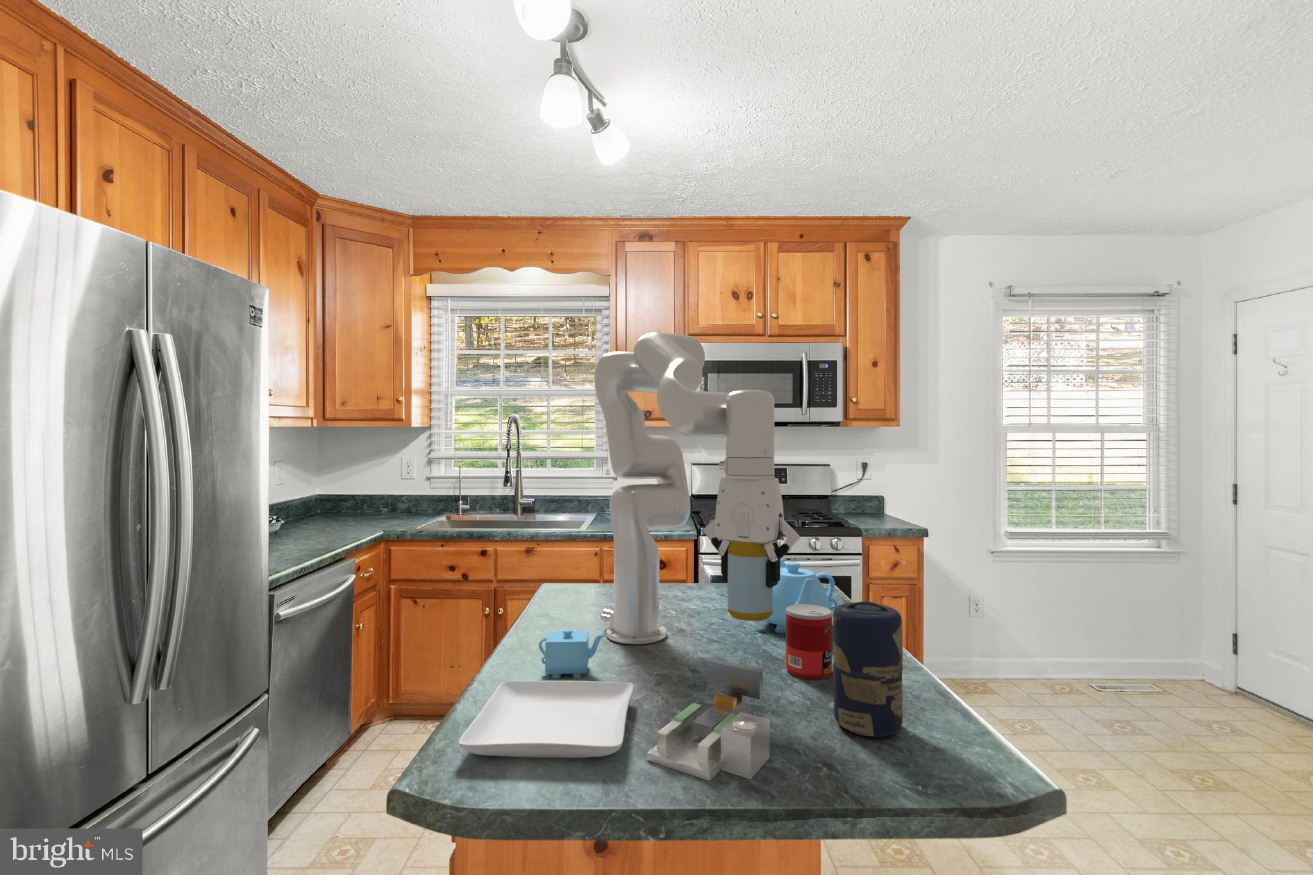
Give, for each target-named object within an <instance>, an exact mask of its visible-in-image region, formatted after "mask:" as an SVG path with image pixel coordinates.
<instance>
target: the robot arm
mask: <svg viewBox="0 0 1313 875" xmlns="http://www.w3.org/2000/svg"><path fill="white" fill-rule="evenodd" d="M632 350H633V351H611V352H608V353H605V354H603V355H602V356H601V357H600V358H598V361H597V363H596V365H595V370H594V379H593V380H594V389H595V395H596V397H597V401H598V403H599V405H600V408H601V411H602V414H603V417H604V423H605V429H606V436H607V444H608V450H609V460H610V464H611V468H612V472H613V474H614V475H615V477H617V478H619V479H623V480H653V479H654V480H656V481H657V483H641V484H639V483H638V484H628V485H624V486H620V487H618V488H617V489H616V490H614V491H613V493H612V494H611V496H610V499H609V504H608V505H609V515H610V521H611V526H612V535H613V609H608V608H604V609H603V611H602V614H601V615H600V618H599V619H600V621H603V622H608V623H609V626H608V627H607V628H606V633H605V634H607V635H606V637H607V638H608V639H609V640H611V641H613V642H615V643H619V644H626V645H646V644H652V643H653V644H654V643H657V642H659V641H662V640H664V639H665V638H666V637H667V628H666V627H665V626H664V625H663V624H660V549H659V547H658V545H657V543H656V541H655V539H654V538H653V536H652V535H651V533H650V530H655V529H666V528H667V529H669V528H679V527H680V526H683V525H685V524H686V523H687V521H688V519H689V517H690V514H691V498H690V491H689V485H688V478H687V473H686V472H687V471H686V466H685V461H684V455H683V452H682V448H681V447H680V445H679V443H678V441H676V440H675V439H674V438H673V437H671V436H668V435H667V436H666V435H655V434H654V435H652V434H651V435H650V434H649V433H648V431H647V428H646V422H645V420H646V419H645V416H644V413H643V411H642V409H641V407H640V405H638V403H637V402H636V401H635V399H634V398H632V397H631V396H630V395H629V393H630V392H633V393H651V394H656V399H657V400H656V401H657V406H658V410H659V412H660V414H661V416H662V418H663V419H664V420H665V421H666V422H667V423H668V424H669V426H671V427H672V428H673V429H674V430H675V431H677V432H678V433H679V434H680V435H682V436H683V435H684V436H686V437H691V438H725V450H726V451H725V458H724V460H721V461H719V463H718V468H719V470H723V471H724V474H725V476H724V477H720V481H719V484H718V491H717V498H716V505H715V506H716V507H715V517H714V519H713V520H712V521H711V522H710V523H709V524H708V525H707V526H705V528H703V532H704V534H705V535H706V537H707V538H708V540H709V541H710V543H711V545H712V546H713V547H714V548H715V550H716V551H717V554H718V555H719V556H720V573H721V575H722V582H725V583H726V582H727V583H728V547H729V544H730V542H731V541H732V542H733V541H735V537H738V536H737V535H736V534H735V524H734V523H735V522H736V521H742V522H750V524H752V525H750V537H748V538H751V542H752V543H755V544H764V547H765V549H766V552H767V554H768V556H769V561H767V562H766V586H767V587H768V588H772V587H774V586H776V585H777V584H778V582H779V581H780V559H782V558H784V557H785V556H786V555H787V554H788V553H789V552H791V549H793V547H794V546H796V544H797V543H798V542H799V541H800V540H801V536H800V535H799V534H798V532H796V530H795V529H793V527H792V526H791V525H790V524H789V523H788V522H787V521H786V520H785V518H784V517H785V516H784V503H783V498H782V497H783V496H782V491H781V486H780V481H779V478H777V477H775V398H774V396H773V394H772V393H771V392H770V391H767V390H762V389H761V390H760V389H741V390H739V389H738V390H734V391H731V392H720V391H701V390H698V388H699V387H700V385H701V383H702V380H703V368H704V365H705V361H706V353H705V349H704V345H702V342H700V341H699V340H698V339H697V338H695V336H694V337H693V336H690V335H686V334H685V335H684V334H678V333H677V334H675V333H667V332H649V333H646V334H644V335H642V336H640V337H639V339H637V341H635V343H634V347H633V349H632ZM784 536H785V537H786V539H785V541H784V542H783V543H782V544H781V545H780V543H779V541H780V540H782V539H783V538H784Z"/></svg>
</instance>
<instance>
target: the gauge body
mask: <svg viewBox="0 0 1313 875" xmlns="http://www.w3.org/2000/svg"><path fill="white" fill-rule="evenodd" d="M702 708H703V706H702V704H700V703H699V704H698V703H695V702H692V703H690V704H689V705H688V706H686V707H685V708H684V709H683V710H682V711H680V712H678V713H677V714H676V715H675V716H674V717H673V719H672V720H671V721H670V722H668V723H667V724H666V725H664V726H663V727H662V728H661V729H659V730H658V731H657V732H656V745H655V746H654V747H652V748H651V749H650V750H648V751H647V752H646V753H647V756H646V760H647V761H648V762H652V763H655V764H657V765H661V766H664V767H667V768H670V769H673V770H675V771H678V772H680V773H681V772H682V773H685V774H688V775H691V776H693V777H697V778H699V779H702V780H706V781H708V782H710V781H712V779H714V778H715V776H716V775H717V774H718V773H719V772H720V771H722V772H725V773H729V774H732V775H736V776H739V777H742V778H745V779H747V780H751V779H752V778H753V777H754V776H755V775H756V774H757V772H759V770H760V769H761V768H763V766H764V765H765V764H766V762H767V761H768V760H769V759H770V719H769V718H765V717H762V716H758V715H754V714H750V713H747V712H744V713H743V712H740V713H739V714H738V715H737V714H733V713H731V714H730V715H728V716H727V717H726V718H725V719H724V720H723V721H721V722H720V723H719V724H718V725H717V726H716V727H715V728H713V732H712V733H710V734H709V735H708V736H707V737H706V738H705V739H704V738H701V737H698V736H694V735H692V721H694V720H695V719H696V718H697V712H698V711H700V709H702Z"/></svg>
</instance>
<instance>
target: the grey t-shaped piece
mask: <svg viewBox="0 0 1313 875" xmlns="http://www.w3.org/2000/svg"><path fill="white" fill-rule="evenodd" d="M706 674H707V675H706V676H707V682H706V684H707V688H712V689H714V690H718V691H722V692H723V693H719V692H718V693H716V694H715V695H713V704H712V705H711V706H710V707H708V709H706V710H705V711H704V712H702V713H701V714H700V715H699V716H697V717H696V719H695V720H694V721H692V735H694V736H698V737H701V738H704V739H705V738H706V737H707V736H708V735H709V734H710V733H712V732H713V728H715V727H716V726H717V725H718V724H719V723H720V722H721V721H723V720H724V719H725V718H726V717H727V716H728V715H730V714H731V713H733V714H737V715H738V714H739V713H740V712H743V713H746V712H747V710H746V708H747V707H746V706H747V704H746V701H747V699H746V698H753V699H754V700H755V699H756V700H760V701H761V699H762V698H763V697H764V669H761V668H756V667H753V666H749V665H743V664H739V663H733V662H729V661H724V660H720V659H716V658H710V659H708V660H707V673H706Z"/></svg>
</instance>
